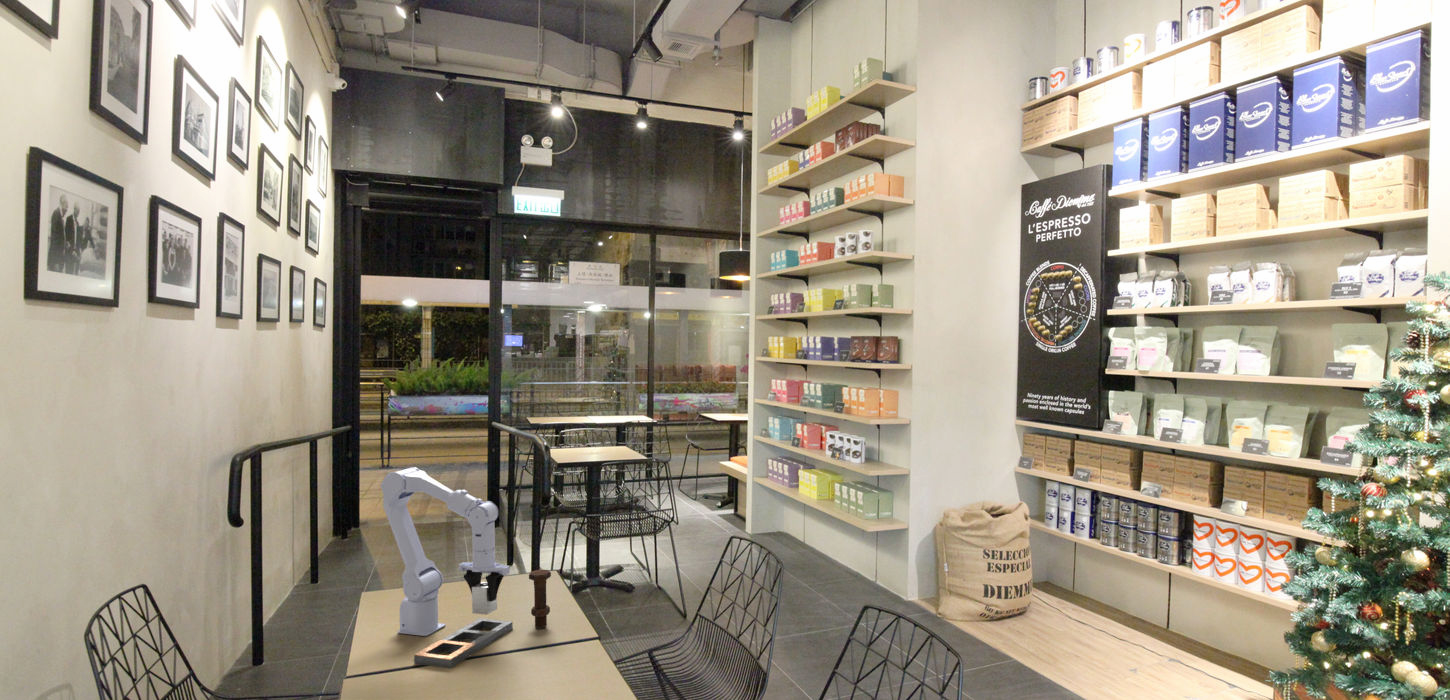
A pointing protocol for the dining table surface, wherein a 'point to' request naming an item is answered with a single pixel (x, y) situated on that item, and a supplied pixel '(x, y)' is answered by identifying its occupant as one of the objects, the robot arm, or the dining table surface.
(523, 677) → the dining table surface
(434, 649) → the frame with rectangular openings
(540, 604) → the bolt
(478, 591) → the grey rectangular block
